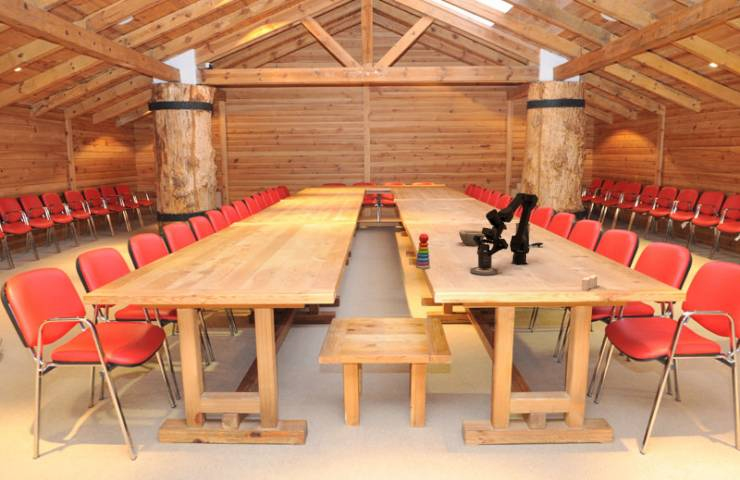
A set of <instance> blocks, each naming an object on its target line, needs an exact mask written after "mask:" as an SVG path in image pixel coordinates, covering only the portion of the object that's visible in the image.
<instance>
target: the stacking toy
mask: <svg viewBox="0 0 740 480" xmlns="http://www.w3.org/2000/svg"><path fill="white" fill-rule="evenodd" d="M418 239H419V242H418V248H417V249H418V250H417V254H416V256H417V257H416V261H415V265H414V267H415V268H416V269H419V270H428V268H429V269H430V268H431V265H430V264H431V262H430V254H429V253H430V251H429V242H428V241H429V235H428V234H427V233H425V232H424V233H420V235H419V237H418Z"/></svg>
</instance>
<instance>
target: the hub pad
mask: <svg viewBox="0 0 740 480" xmlns="http://www.w3.org/2000/svg"><path fill="white" fill-rule="evenodd" d="M469 272H470V273H471V275H476V276H481V277H490V276H497V275H498V274H499V270H498V269H497V268H494V267H491V268H489V269H481V268H479V267H478V266H477V267H476V266H475V267H471V268H470V270H469Z"/></svg>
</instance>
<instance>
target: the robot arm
mask: <svg viewBox="0 0 740 480" xmlns="http://www.w3.org/2000/svg"><path fill="white" fill-rule="evenodd" d="M538 201H539V198H538V196H537V194H534V193H533V194H531V193H525V192H518V193H516V194H515V197H513V199H512V200H511V201H510V202H509V204H508V205H507V206H505V207H503V208H501V209H500V210H497V209H496V208H492V210H490V211H488V212H487V213H486V215H485V218H486V219H487V221H488V223H489V225H491V228H490V227H485V226H484V227H482V229H481V231H482V232H481V234H484V235H485V236H484V238H483V237H482V236H479V235H475V236H474V237H473V240H474V241H475V243H476V244H477V245H478V246H477V250H476V251H477V252H476V254H477V255H478V251H479V250H480V245H481V244H489V245H492V246H491V249H490V250H491V251H490V252H489V255H488V256H489V257H490V256H493V255H495V254H497V253H498V252H501V251H503V250H507V249H508V248H510V253H512V259H511V260H512V261H511V263H512V264H514V265H517V266H519V265H527V264H528V262H527V254H529V253H530V246H529V247H528V246H527V239H526V236H525V235H526V231H527V227H528V223H529V222H530V220H531V219H530V218H531V215H532V211H533V210H534V209H535V208H536V207H537V204H538ZM520 206H521V207H522V211H521V212H520V218H519V221H518V223H519V225H518V229H517V233H516V232H515V234H514V235H512V236H511V238H510V240H509V244H508V242H507V240H506V239H505V238H502V237H503V236H502V233H503V232H504V231H506V230H508V228H507V224H508V223H511V222H512V220H513V218H514V217H515V216H514V214H515V212H516V211H517V210H518V209H519V208H520ZM506 223H507V224H506ZM529 224H530V223H529Z"/></svg>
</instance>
